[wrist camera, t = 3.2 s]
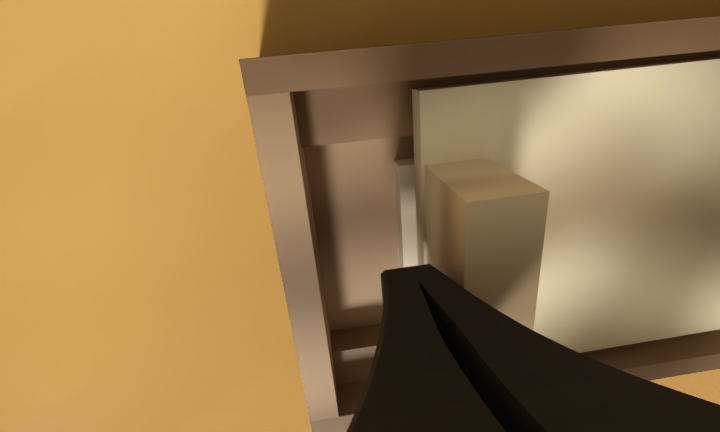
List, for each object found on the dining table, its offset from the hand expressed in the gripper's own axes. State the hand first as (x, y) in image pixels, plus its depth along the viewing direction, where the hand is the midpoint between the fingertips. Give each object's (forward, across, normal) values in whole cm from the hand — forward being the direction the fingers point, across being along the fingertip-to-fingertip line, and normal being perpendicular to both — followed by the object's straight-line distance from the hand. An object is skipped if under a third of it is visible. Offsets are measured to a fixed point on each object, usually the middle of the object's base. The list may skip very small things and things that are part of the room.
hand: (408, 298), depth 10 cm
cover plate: (+3, -8, 0) cm, 9 cm away
